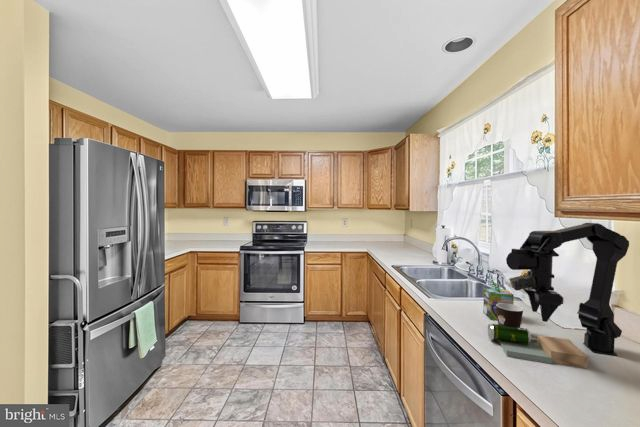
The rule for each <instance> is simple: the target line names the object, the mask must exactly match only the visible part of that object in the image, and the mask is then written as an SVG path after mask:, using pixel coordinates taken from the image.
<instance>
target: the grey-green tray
mask: <svg viewBox="0 0 640 427" xmlns="http://www.w3.org/2000/svg"><path fill="white" fill-rule="evenodd" d="M497 341H498V343H499V344H500V347H501V348H502V349H503V352H504V354H505V357H510V358H516V359H521V360H527V361H528V360H529V361H535V362H538V363H539V362H540V363H546V364H553V362H552V357H551V356H547V355H546V354H545V353H544V351H543V350H542V349H541V348H540V346H539V345H538V344H537V338H536V337H534V338H533V337H531V343H530V344H529V345H525V344H518V343H512V342H505V341H499V340H497Z"/></svg>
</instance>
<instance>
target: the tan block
mask: <svg viewBox="0 0 640 427" xmlns="http://www.w3.org/2000/svg"><path fill="white" fill-rule="evenodd" d="M536 339H537V344H538V345H539V346H540V348H541V349H542V350H543V351H544V353H545V354H546V355H547V356H551V357H552V364H554V363H555V364H561V365H566V366H571V367H572V366H573V367H579V368H582V369H584V368H585V369H587V368H588V356H587V355H586V354H585V353H584V352H583V351H582V350H581V349H580V348H579V347H578V346H577V345H576V344H575V343H573V342H572V341H571V340H570V339H567V338H561V337H553V336H547V335H542V334H541V335H539V334H537V336H536Z"/></svg>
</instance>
